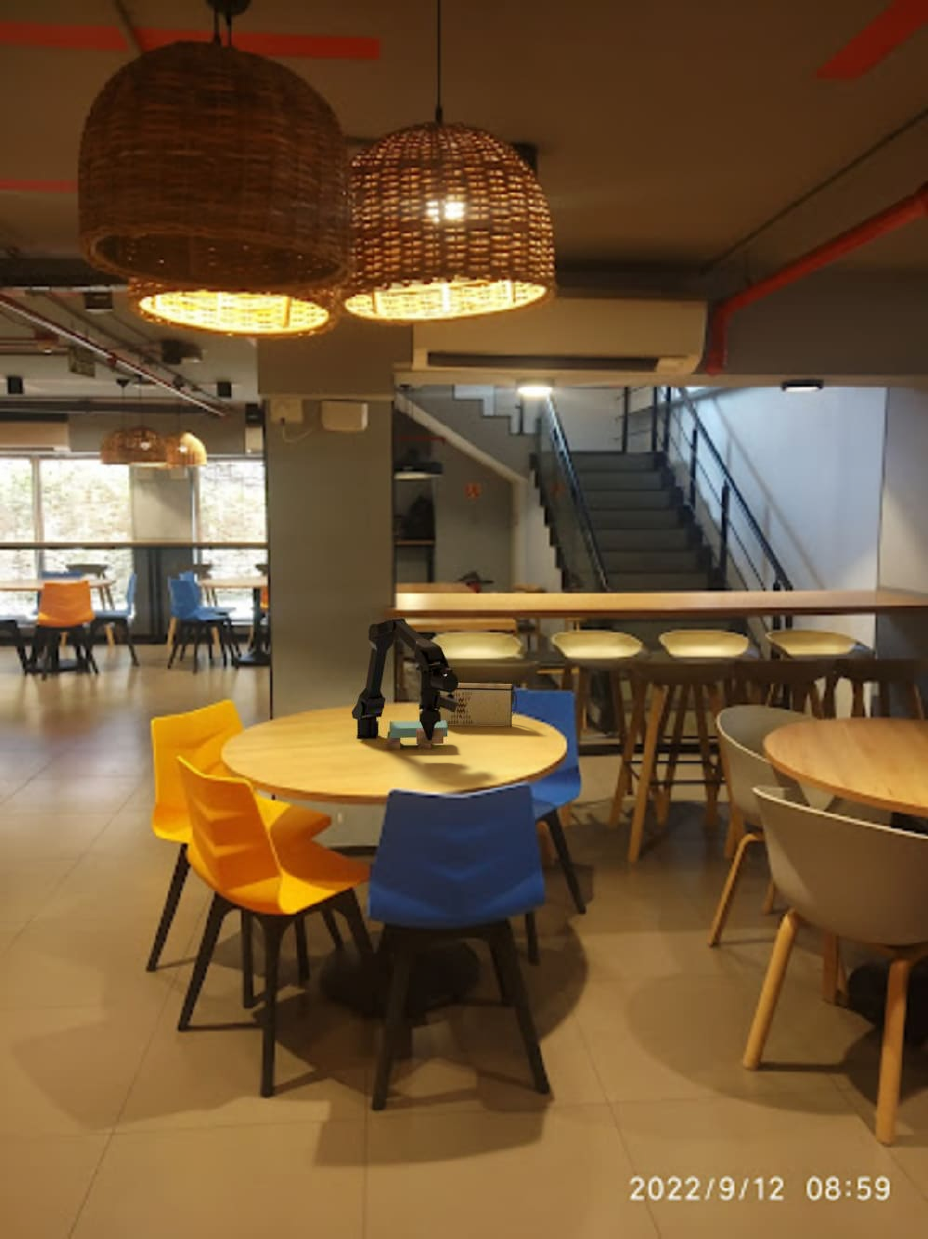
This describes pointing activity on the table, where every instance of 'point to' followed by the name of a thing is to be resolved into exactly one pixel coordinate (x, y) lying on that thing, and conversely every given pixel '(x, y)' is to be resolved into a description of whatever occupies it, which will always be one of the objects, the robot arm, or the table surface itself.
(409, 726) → the slab
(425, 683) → the robot arm
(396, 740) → the block
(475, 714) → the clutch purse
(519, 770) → the table surface
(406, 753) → the table surface
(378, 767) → the table surface
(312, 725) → the table surface
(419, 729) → the block
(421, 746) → the block
